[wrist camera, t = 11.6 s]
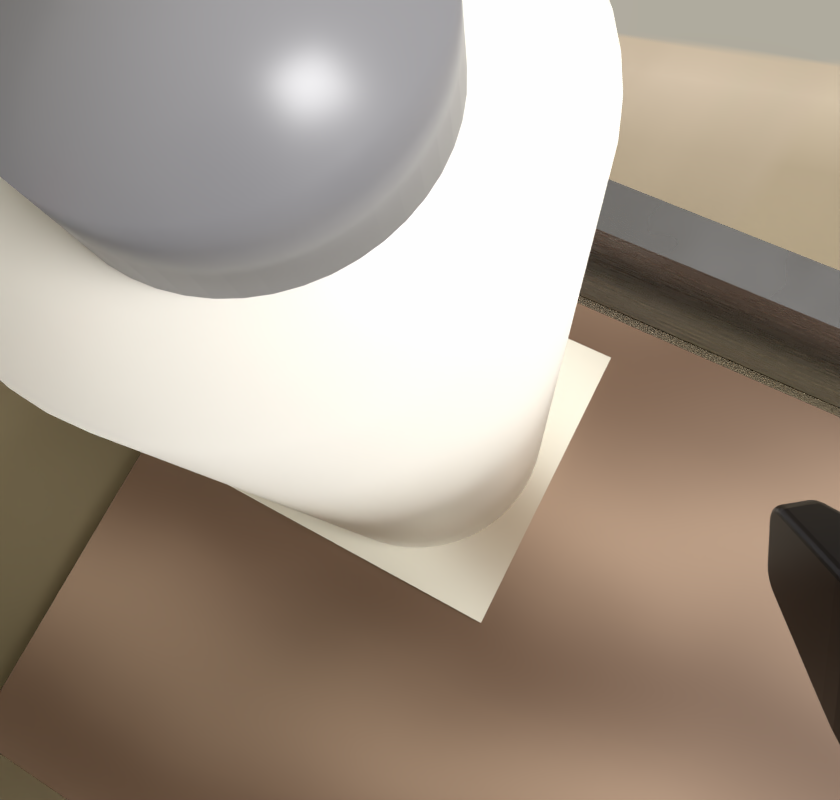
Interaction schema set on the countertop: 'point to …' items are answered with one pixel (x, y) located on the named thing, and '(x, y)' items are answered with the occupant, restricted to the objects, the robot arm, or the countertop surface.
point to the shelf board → (458, 621)
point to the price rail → (718, 290)
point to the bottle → (306, 238)
